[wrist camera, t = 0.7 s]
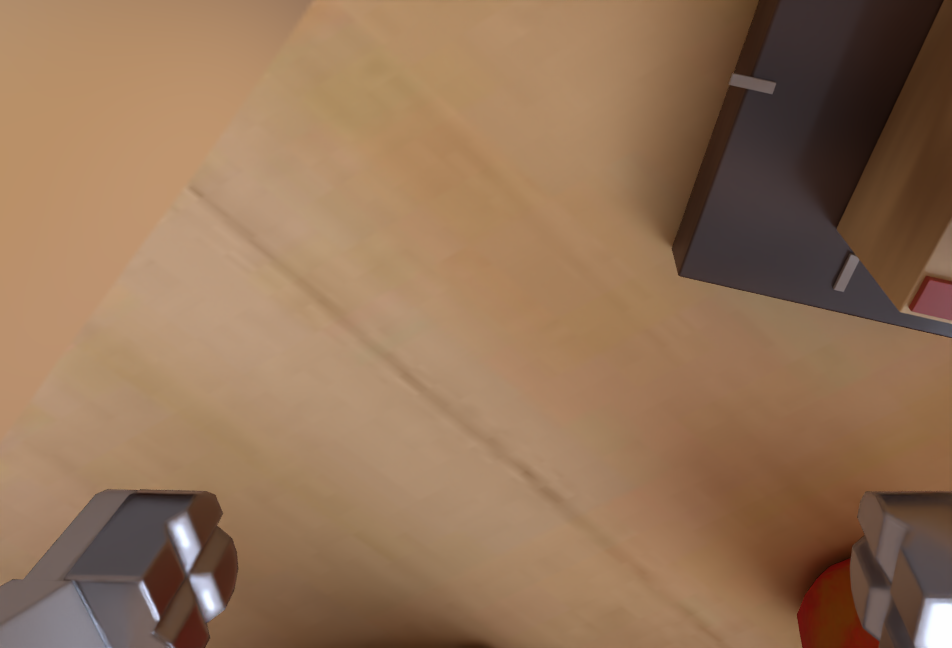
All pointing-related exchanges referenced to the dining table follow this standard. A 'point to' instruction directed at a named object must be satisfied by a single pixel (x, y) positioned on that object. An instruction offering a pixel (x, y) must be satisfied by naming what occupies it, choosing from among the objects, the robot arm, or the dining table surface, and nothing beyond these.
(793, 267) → the dark flat block
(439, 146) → the dining table surface
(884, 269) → the wooden block
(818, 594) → the apple
